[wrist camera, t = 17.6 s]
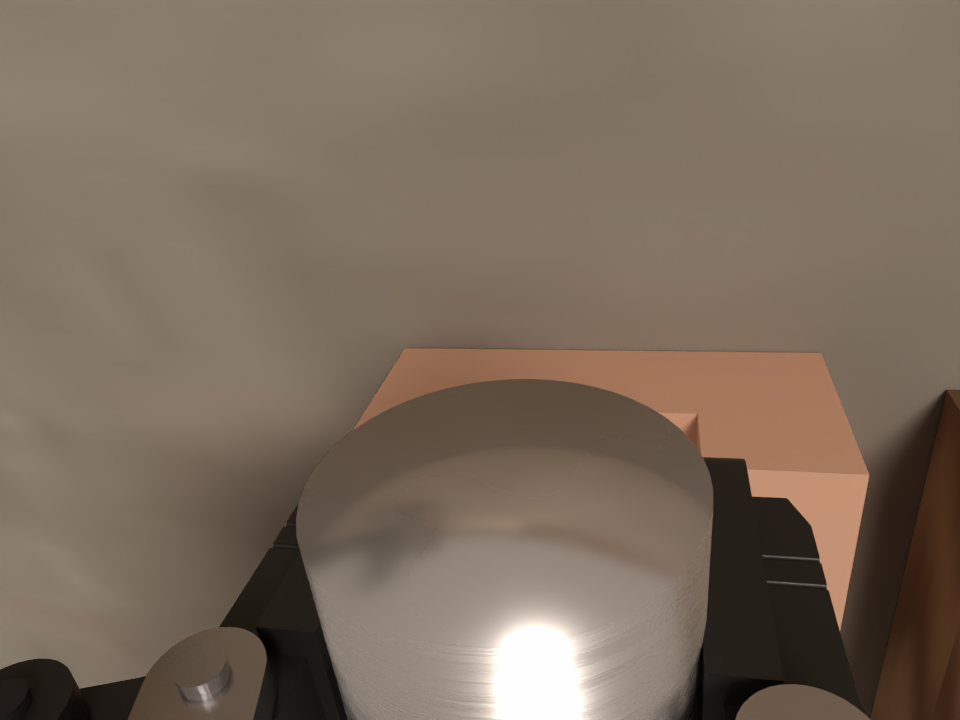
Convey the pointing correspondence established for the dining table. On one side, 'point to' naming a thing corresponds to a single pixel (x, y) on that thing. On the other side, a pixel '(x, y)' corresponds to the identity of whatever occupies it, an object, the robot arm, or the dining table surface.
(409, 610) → the steel axle
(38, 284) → the dining table surface
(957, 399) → the wooden channel bracket
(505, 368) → the terracotta cradle
